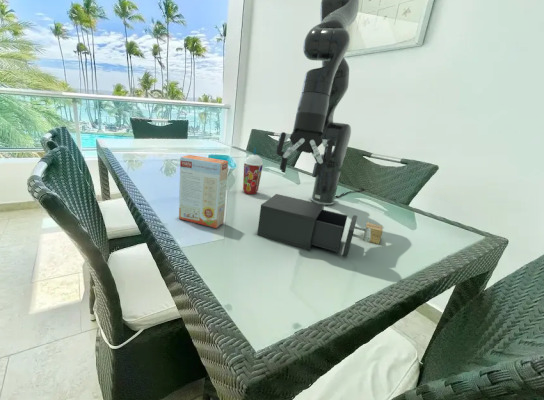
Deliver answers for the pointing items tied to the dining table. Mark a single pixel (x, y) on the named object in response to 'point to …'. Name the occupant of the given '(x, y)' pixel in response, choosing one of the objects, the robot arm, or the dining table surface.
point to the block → (374, 232)
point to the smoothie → (252, 173)
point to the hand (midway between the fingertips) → (298, 174)
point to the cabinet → (289, 220)
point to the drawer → (335, 231)
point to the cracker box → (202, 190)
